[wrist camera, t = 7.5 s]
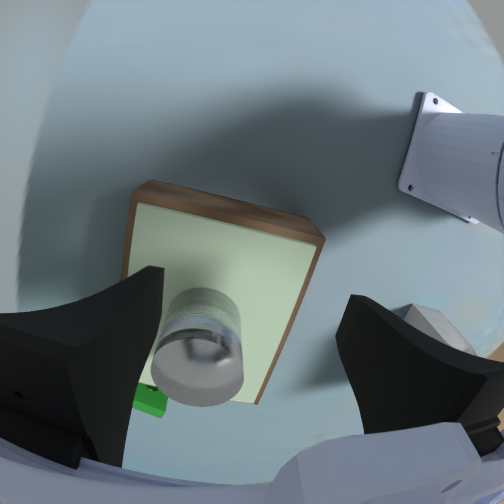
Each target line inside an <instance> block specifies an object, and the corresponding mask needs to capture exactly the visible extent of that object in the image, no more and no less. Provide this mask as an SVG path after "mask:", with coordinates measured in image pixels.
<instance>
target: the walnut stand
mask: <svg viewBox="0 0 504 504" xmlns="http://www.w3.org/2000/svg"><path fill="white" fill-rule="evenodd" d="M324 242H325V237H324V236H323V235H322V234H321V232H320V231H319V230H318V229H317V228H316V226H315V225H314V224H313V223H312V222H311V220H310V219H307V218H304V217H300V216H296V215H293V214H289V213H285V212H281V211H278V210H274V209H270V208H266V207H262V206H258V205H255V204H251V203H247V202H243V201H239V200H235V199H231V198H227V197H223V196H218V195H214V194H210V193H206V192H202V191H197V190H193V189H189V188H185V187H180V186H176V185H171V184H167V183H162V182H158V181H153V180H150V181H148V182H147V183H145V184H144V185H142V186H140V187H139V188H137V189H136V190H134V191H133V192H132V198H131V204H130V210H129V217H128V224H127V231H126V239H125V247H124V256H123V265H122V275H121V281H122V280H124V279H126V278H128V277H129V276H131V275H133V274H134V273H136V272H138V271H139V270H141V269H143V268H144V267H146V266H148V265H150V266H156V267H162V268H165V272H164V287H163V304H162V316H161V320H160V325H159V328H158V332H157V336H156V339H155V341H154V344H153V346H152V349H151V351H150V354H149V356H148V359H147V361H146V364H145V367H144V369H143V372H142V374H141V377H140V380H139V383H143V384H147V385H151V386H155V387H157V386H156V385H155V383H154V381H153V379H152V376H151V363H152V359H153V356H154V353H155V349H156V346H157V342H158V339H159V336H160V332H161V329H162V326H163V323H164V319H165V316H166V313H167V310H168V307H169V305H170V303H171V301H172V300H173V299H174V298H175V297H176V296H177V295H178V294H180V293H181V292H183V291H185V290H188V289H191V288H198V287H204V288H211V289H215V290H218V291H220V292H222V293H224V294H225V295H227V296H228V297H229V298H230V299H232V300H233V302H234V303H235V304H236V306H237V307H238V310H239V313H240V318H241V336H242V353H243V370H244V382H243V385H242V387H241V389H240V391H239V392H238V393H237V394H236V395H235V396H234V397H233V398H231V399H230V400H228V401H234V402H241V403H249V404H257V405H258V403H259V400H260V398H261V396H262V394H263V392H264V390H265V387H266V385H267V383H268V381H269V378H270V376H271V374H272V372H273V369H274V367H275V365H276V363H277V360H278V358H279V356H280V353H281V351H282V349H283V346H284V344H285V342H286V339H287V337H288V334H289V332H290V330H291V327H292V325H293V322H294V320H295V317H296V315H297V313H298V310H299V308H300V305H301V303H302V300H303V298H304V295H305V292H306V290H307V287H308V285H309V282H310V280H311V277H312V274H313V272H314V269H315V266H316V264H317V261H318V258H319V256H320V253H321V250H322V248H323V245H324Z"/></svg>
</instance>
